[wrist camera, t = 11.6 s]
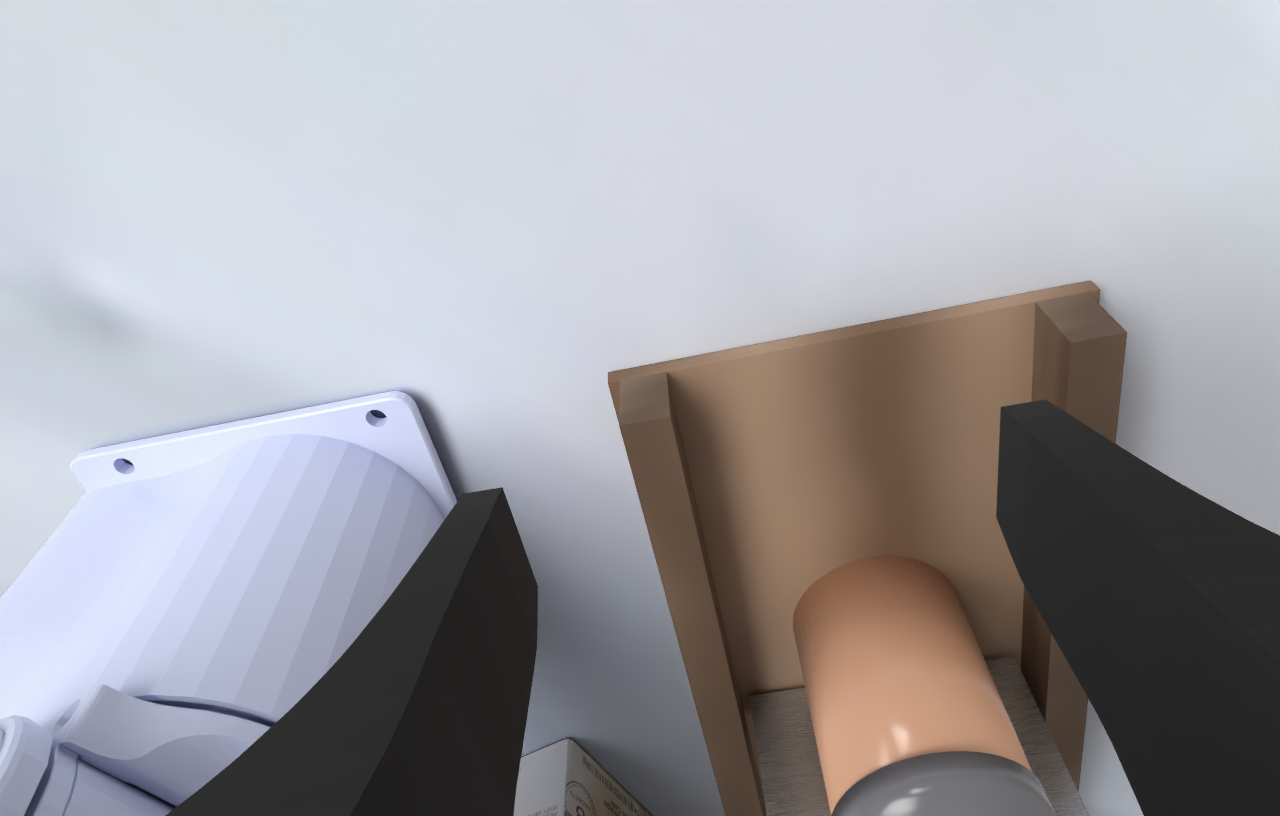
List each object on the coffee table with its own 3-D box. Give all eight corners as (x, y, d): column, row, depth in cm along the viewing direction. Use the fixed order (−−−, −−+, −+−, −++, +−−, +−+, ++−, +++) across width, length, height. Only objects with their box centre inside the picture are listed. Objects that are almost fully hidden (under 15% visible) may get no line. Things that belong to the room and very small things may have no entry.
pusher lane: (736, 849, 35) (754, 1004, 30) (608, 372, 23) (604, 511, 18) (1049, 807, 34) (1117, 963, 29) (1090, 280, 21) (1218, 404, 17)
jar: (799, 684, 29) (847, 924, 22) (779, 570, 26) (827, 809, 20) (962, 660, 28) (1058, 899, 22) (959, 540, 25) (1068, 776, 19)
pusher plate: (754, 718, 29) (781, 903, 24) (749, 696, 29) (776, 880, 24) (1013, 681, 28) (1096, 863, 23) (1013, 655, 28) (1100, 838, 23)
